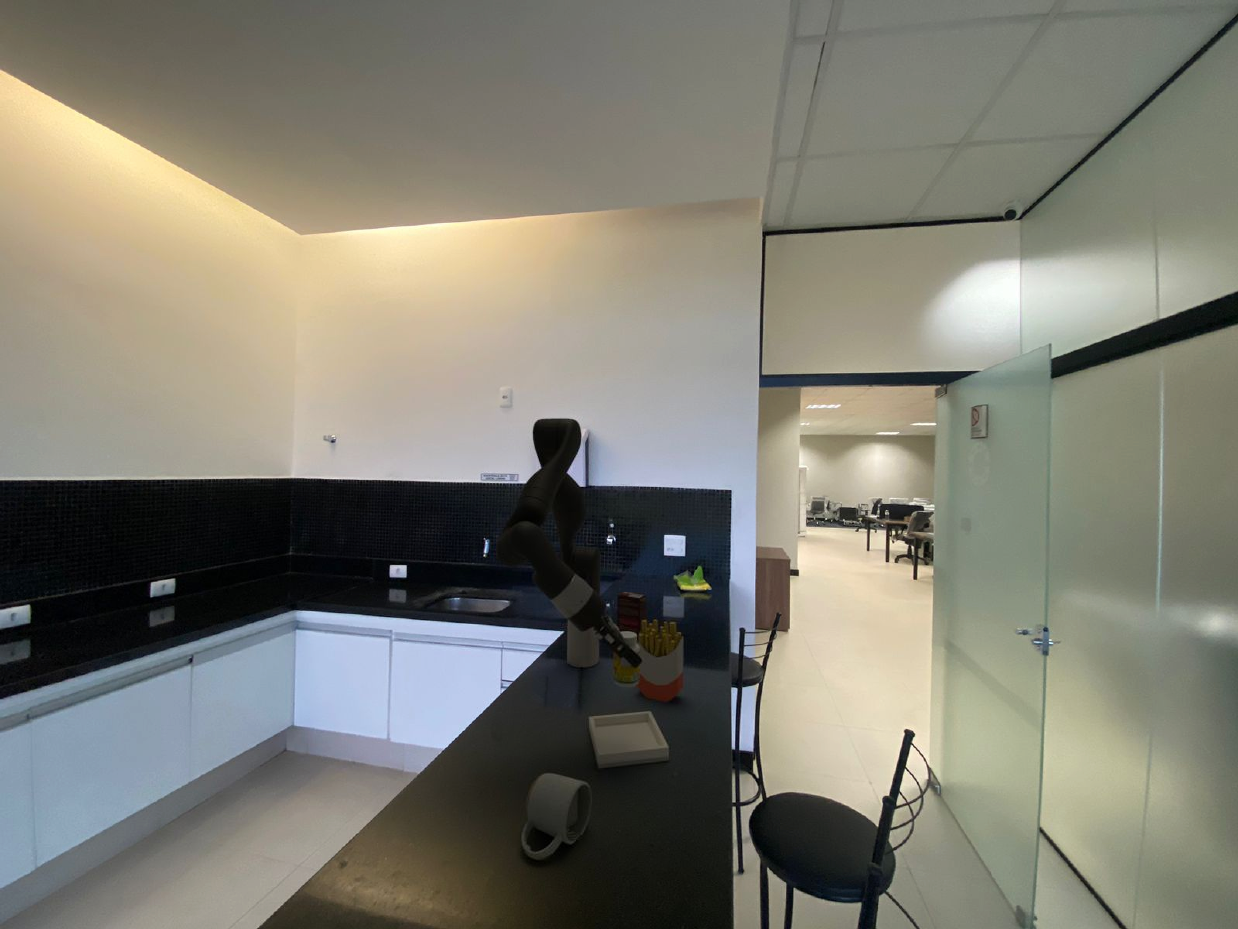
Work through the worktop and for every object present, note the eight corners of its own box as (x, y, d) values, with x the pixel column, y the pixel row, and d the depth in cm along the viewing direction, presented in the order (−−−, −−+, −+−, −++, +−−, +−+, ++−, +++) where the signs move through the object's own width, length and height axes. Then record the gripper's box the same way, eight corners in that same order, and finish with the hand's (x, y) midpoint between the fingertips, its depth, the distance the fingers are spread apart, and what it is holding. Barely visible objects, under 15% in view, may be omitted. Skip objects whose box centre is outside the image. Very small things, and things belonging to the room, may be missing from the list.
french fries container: (677, 705, 109) (678, 629, 110) (635, 696, 114) (635, 622, 114) (683, 697, 114) (683, 623, 114) (641, 688, 118) (642, 617, 118)
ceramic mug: (550, 804, 77) (550, 758, 77) (592, 821, 73) (592, 772, 73) (507, 852, 67) (507, 799, 67) (554, 874, 63) (554, 818, 63)
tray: (589, 728, 99) (589, 717, 99) (650, 722, 102) (650, 711, 102) (598, 768, 86) (598, 755, 86) (668, 760, 88) (668, 747, 89)
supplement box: (647, 644, 148) (647, 594, 148) (639, 649, 144) (640, 598, 144) (624, 639, 153) (624, 591, 153) (616, 643, 149) (616, 594, 149)
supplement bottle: (639, 688, 91) (640, 639, 91) (612, 687, 91) (613, 639, 92) (638, 676, 97) (639, 630, 97) (613, 675, 97) (614, 629, 97)
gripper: (596, 597, 86) (657, 658, 88) (586, 579, 100) (640, 632, 102) (567, 627, 85) (630, 688, 87) (561, 605, 99) (616, 658, 101)
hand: (635, 658), depth 94 cm, fingers closed on supplement bottle, 5 cm apart
